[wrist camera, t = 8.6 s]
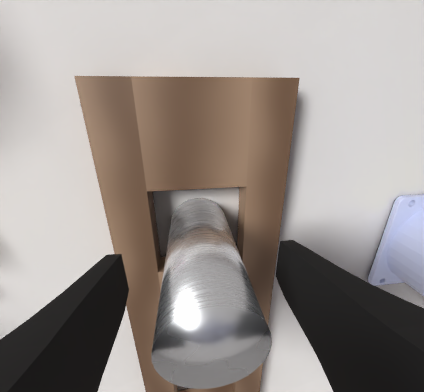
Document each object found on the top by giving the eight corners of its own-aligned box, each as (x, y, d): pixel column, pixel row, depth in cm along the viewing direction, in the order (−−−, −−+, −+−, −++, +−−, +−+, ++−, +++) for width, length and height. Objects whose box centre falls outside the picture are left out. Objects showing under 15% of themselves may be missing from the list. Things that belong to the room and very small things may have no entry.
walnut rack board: (285, 82, 11) (299, 78, 10) (250, 407, 23) (255, 426, 21) (90, 81, 10) (74, 76, 9) (159, 422, 22) (157, 443, 20)
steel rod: (227, 198, 13) (281, 304, 6) (222, 245, 14) (261, 383, 7) (171, 197, 13) (148, 311, 5) (171, 246, 14) (153, 394, 6)
